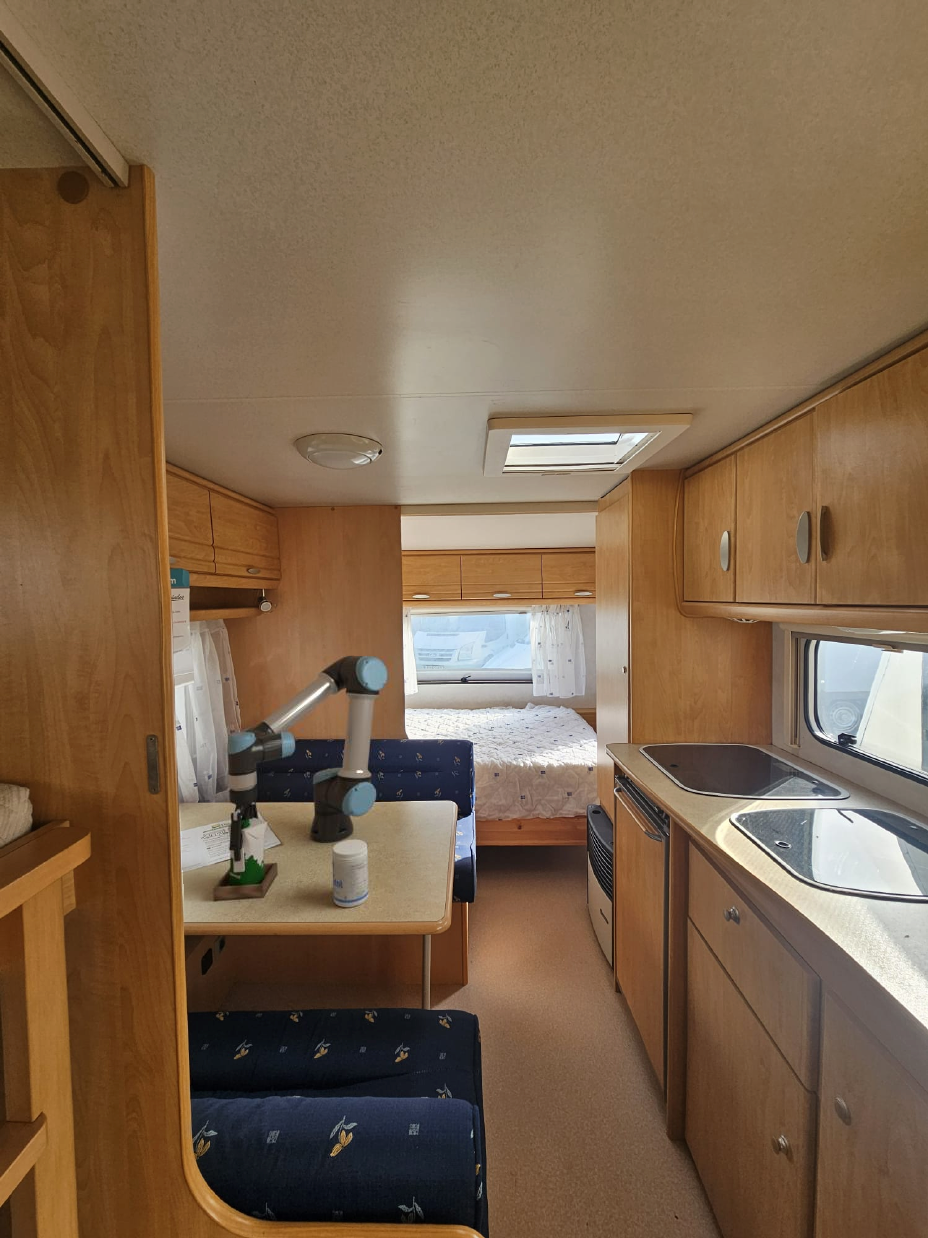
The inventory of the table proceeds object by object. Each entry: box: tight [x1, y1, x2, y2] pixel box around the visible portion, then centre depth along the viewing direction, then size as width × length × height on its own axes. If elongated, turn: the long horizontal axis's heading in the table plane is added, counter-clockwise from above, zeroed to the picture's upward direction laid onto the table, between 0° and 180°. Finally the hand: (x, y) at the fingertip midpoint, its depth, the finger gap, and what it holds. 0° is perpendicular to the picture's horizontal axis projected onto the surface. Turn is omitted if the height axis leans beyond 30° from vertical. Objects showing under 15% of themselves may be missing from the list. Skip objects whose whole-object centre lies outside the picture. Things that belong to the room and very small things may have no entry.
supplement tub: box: [331, 839, 370, 908], centre depth 144 cm, size 10×10×15 cm
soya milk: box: [227, 817, 268, 886], centre depth 152 cm, size 9×9×20 cm
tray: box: [212, 862, 278, 902], centre depth 153 cm, size 14×14×4 cm
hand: (246, 862), depth 153 cm, fingers open, 10 cm apart
